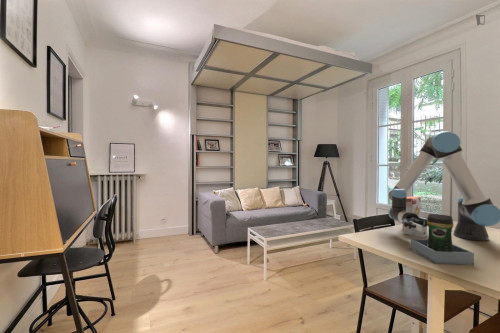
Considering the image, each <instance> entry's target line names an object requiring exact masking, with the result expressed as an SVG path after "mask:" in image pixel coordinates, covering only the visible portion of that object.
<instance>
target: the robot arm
mask: <svg viewBox="0 0 500 333" xmlns="http://www.w3.org/2000/svg"><path fill="white" fill-rule="evenodd" d="M462 152H463V149H462V147H461V139H460V137H459V135H457V134H456V133H455V132H452V131H447V130H445V131H440V132H437V133H435V134H432V135H430V136H429V137H428V138H427V140H426V141H425V143H424V144H423V146H422V147H421V149H420V150H419V154H418V155H417V157H416V158H415V159H414V161H413V162H412V163H411V164H410V165H409V167H408V169H407V170H406V171H405V172H404V174H403V175H402V177H401V178H400V179H399V180H398V182H397V183H396V184H395V186H394V187H393V189H392V190H390V191H389V192H388V199H389V200H391V208H389V210H388V211H387V213H388V216H389V218H390V219H392V220H394V221H395V222H399V223H401V224H402V225H403V224H404V227H407V226H409V229H411V227H412V228H414V229H416V230H418V231H421V232H422V226H427V227H428V224H427V219H428V218H427V219H422V218H423V217H422V218H419V217H418V215H416V214H414V213H411V212H408V211H406V197H408V194H407V193H408V192H409V190H410V189H411V188H412V187H413V185H415V183H416V182H417V180H418V179H419V177H420V176H421V175H422V174H423V172H424V171H425V170H426V169H427V167H428V166H429V165H430V164H431V163H432V162H433V160H439V161H442V163H443V164H444V168H446V171H447V172H448V173H449V175H450V177H451V179H452V181H453V183H454V185H455V187H456V188H457V190H458V192H459V194H460V196H461V197H459V198H458V200H457V222H456V225H455V227H454V230H452V231H451V233H453V236H456V237H458V238H461V239H466V240H471V241H477V242H478V241H479V242H480V241H481V242H484V241H485V240H487V241H489V237H490V236H489V234H488V232H487V228H486V227H491V226H492V227H493V226H495V225H498V224H499V223H500V208H499V207H498V206H496V205H495V204H494V203H493V201H492V200H491V197H489V196H487V195H485V194H484V193H483V191H482V189H481V187H480V186H479V184H478V183H477V180H476V179H475V177H474V175H473V173H472V171H471V170H470V168H469V166H468V165H467V163H466V160H465V159H464V157H463V156H462ZM424 222H425V225H424ZM421 225H422V226H421Z"/></svg>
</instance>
